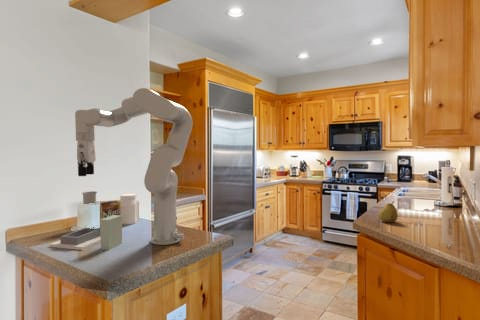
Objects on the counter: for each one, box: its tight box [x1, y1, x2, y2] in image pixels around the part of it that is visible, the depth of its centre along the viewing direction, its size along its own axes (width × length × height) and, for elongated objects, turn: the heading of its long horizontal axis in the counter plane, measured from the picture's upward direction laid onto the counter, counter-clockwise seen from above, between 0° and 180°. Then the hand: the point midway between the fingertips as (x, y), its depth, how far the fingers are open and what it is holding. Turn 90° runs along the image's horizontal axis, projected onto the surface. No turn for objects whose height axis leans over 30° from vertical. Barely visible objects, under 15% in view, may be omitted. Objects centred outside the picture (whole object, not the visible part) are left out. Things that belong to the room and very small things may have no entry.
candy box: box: [99, 199, 121, 220], centre depth 140 cm, size 9×4×15 cm, turn 123°
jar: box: [119, 193, 140, 226], centre depth 160 cm, size 12×10×15 cm
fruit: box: [378, 200, 399, 224], centre depth 161 cm, size 9×9×12 cm
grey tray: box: [49, 227, 101, 251], centre depth 125 cm, size 16×16×4 cm
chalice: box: [81, 191, 98, 205], centre depth 149 cm, size 7×7×18 cm
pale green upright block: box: [99, 215, 123, 251], centre depth 120 cm, size 4×8×12 cm, turn 166°
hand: (86, 175), depth 133 cm, fingers open, 9 cm apart
